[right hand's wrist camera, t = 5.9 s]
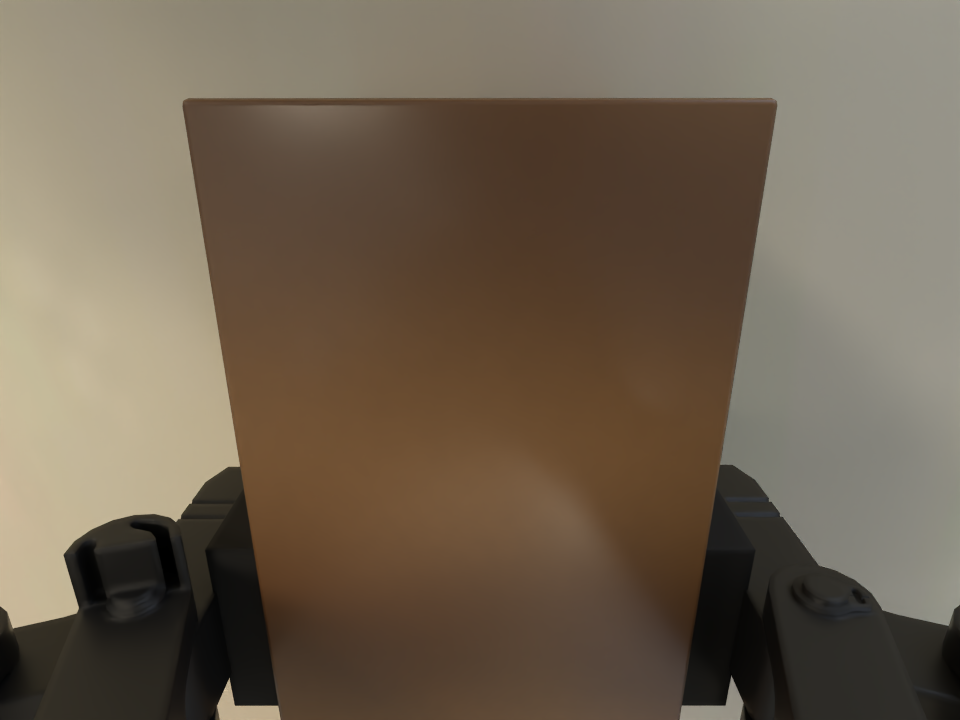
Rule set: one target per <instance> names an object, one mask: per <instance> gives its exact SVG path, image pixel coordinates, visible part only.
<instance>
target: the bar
mask: <svg viewBox="0 0 960 720" xmlns="http://www.w3.org/2000/svg"><path fill="white" fill-rule="evenodd" d="M776 110H777V101H776V100H774V99H772V98H188V99H186V100H184V101H183V112H184V118H185V124H186V130H187V137H188V143H189V149H190V155H191V162H192V168H193V174H194V180H195V187H196V193H197V199H198V205H199V212H200V218H201V224H202V230H203V237H204V243H205V249H206V255H207V262H208V268H209V274H210V280H211V287H212V293H213V299H214V305H215V312H216V318H217V324H218V330H219V337H220V343H221V349H222V355H223V361H224V368H225V374H226V380H227V386H228V393H229V399H230V405H231V411H232V418H233V424H234V430H235V436H236V443H237V449H238V455H239V461H240V468H241V474H242V480H243V486H244V493H245V499H246V505H247V511H248V518H249V524H250V530H251V536H252V543H253V549H254V555H255V561H256V568H257V574H258V580H259V586H260V593H261V599H262V605H263V611H264V618H265V624H266V630H267V636H268V643H269V649H270V655H271V661H272V668H273V674H274V680H275V686H276V692H277V699H278V705H279V711H280V717H281V720H679V719H680V713H681V706H682V700H683V694H684V687H685V681H686V675H687V669H688V662H689V656H690V650H691V643H692V637H693V631H694V625H695V618H696V612H697V606H698V600H699V593H700V587H701V581H702V574H703V568H704V562H705V556H706V549H707V543H708V537H709V530H710V524H711V518H712V512H713V505H714V499H715V493H716V486H717V480H718V474H719V468H720V461H721V455H722V449H723V443H724V436H725V430H726V424H727V417H728V411H729V405H730V399H731V392H732V386H733V380H734V373H735V367H736V361H737V355H738V348H739V342H740V336H741V330H742V323H743V317H744V311H745V304H746V298H747V292H748V286H749V279H750V273H751V267H752V260H753V254H754V248H755V242H756V235H757V229H758V223H759V217H760V210H761V204H762V198H763V191H764V185H765V179H766V173H767V166H768V160H769V154H770V147H771V141H772V135H773V129H774V122H775V116H776Z"/></svg>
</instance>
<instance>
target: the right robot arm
mask: <svg viewBox="0 0 960 720" xmlns="http://www.w3.org/2000/svg"><path fill="white" fill-rule="evenodd" d="M64 558H65V562H66V565H67V568H68V572H69V575H70V579H71V582H72V585H73V589H74V592H75V596H76V599H77V602H78V606H79V610H78V612H77V614H74V615H70V616H67V617H63V618H59V619H54V620H50V621H45V622H41V623H36V624H32V625H27V626H23V627H18V628H14V629H13V628H12V625H11V622H10V619H9V616H8V613H7V612H6V611H5V610H4V609H3V608H1V607H0V720H220V719H219V714H218V709H217V704H218V702H219V700H220V698H221V695H222V693H223V691H224V689H225V686H226V684H227V682H228V680H229V677H230V682H231V688H232V693H233V698H234V703H235V706H279V705H278V699H277V692H276V686H275V680H274V674H273V668H272V661H271V655H270V649H269V643H268V636H267V630H266V624H265V618H264V611H263V605H262V599H261V593H260V586H259V580H258V574H257V568H256V561H255V555H254V549H253V543H252V536H251V530H250V524H249V518H248V511H247V505H246V499H245V493H244V486H243V480H242V474H241V468H240V467H228V468H226V469H225V470H223V471H222V472H220V473H219V474H217V475H216V476H214V477H213V478H211V479H210V480H208V481H207V482H206V483H205V484H204V485H203V487H202V488H201V489H200V491H199V492H198V493H197V495H196V496H195V497H194V499H193V500H192V504H189V506H188V507H187V508H186V510H185V511H184V512H183V514H182V515H181V519H178V520H177V522H175V521H173V520H172V519H171V518H169V517H165V516H160V515H156V514H149V515H133V516H129V517H125V518H121V519H117V520H113V521H110V522H108V523H106V524H103V525H101V526H99V527H97V528H94V529H92V530H90V531H89V532H88V533H86V534H85V535H83V536H82V537H80V538H79V539H77V540H76V541H75V542H74V543H73V544H72V545H71V546H70V548H69V549H68V550H67V551H66V553H65V554H64ZM731 675H732V678H733V680H734V682H735V684H736V687H737V689H738V691H739V693H740V696H741V698H742V700H743V702H744V704H743V709H742V714H741V718H740V720H960V605H959V606H958V607H957V608H955V609H954V612H953V615H952V618H951V621H950V624H949V626H945V625H941V624H936V623H932V622H927V621H923V620H918V619H914V618H909V617H905V616H900V615H896V614H893V613H889V612H886V611H882V609H881V607H880V605H879V604H878V602H877V601H876V600H875V598H874V597H873V595H872V594H871V593H870V592H869V591H868V590H867V589H865V588H864V587H863V586H861V585H860V584H859V583H858V582H856V581H855V580H853V579H851V578H849V577H847V576H845V575H843V574H841V573H839V572H837V571H835V570H832V569H828V568H825V567H821V566H819V565H818V564H817V563H816V561H815V560H814V559H813V557H812V556H811V555H810V553H809V552H808V551H807V549H806V548H805V546H804V545H803V544H802V542H801V541H800V540H799V538H798V537H797V536H796V534H795V533H794V532H793V530H792V529H791V528H790V526H789V525H788V524H787V522H786V521H785V520H784V518H783V517H780V513H779V512H778V510H777V509H776V508H775V506H774V505H773V503H772V502H769V498H768V497H767V495H766V494H765V493H764V491H763V490H762V489H761V487H760V486H759V485H758V483H757V482H756V481H755V480H754V479H753V478H751V477H750V476H748V475H747V474H745V473H744V472H742V471H741V470H739V469H738V468H736V467H735V466H733V465H720V468H719V474H718V480H717V486H716V493H715V499H714V505H713V512H712V518H711V524H710V530H709V537H708V543H707V549H706V556H705V562H704V568H703V574H702V581H701V587H700V593H699V600H698V606H697V612H696V618H695V625H694V631H693V637H692V643H691V650H690V656H689V662H688V669H687V675H686V681H685V687H684V694H683V700H682V705H711V706H725V705H726V700H727V695H728V690H729V685H730V679H731Z"/></svg>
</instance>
